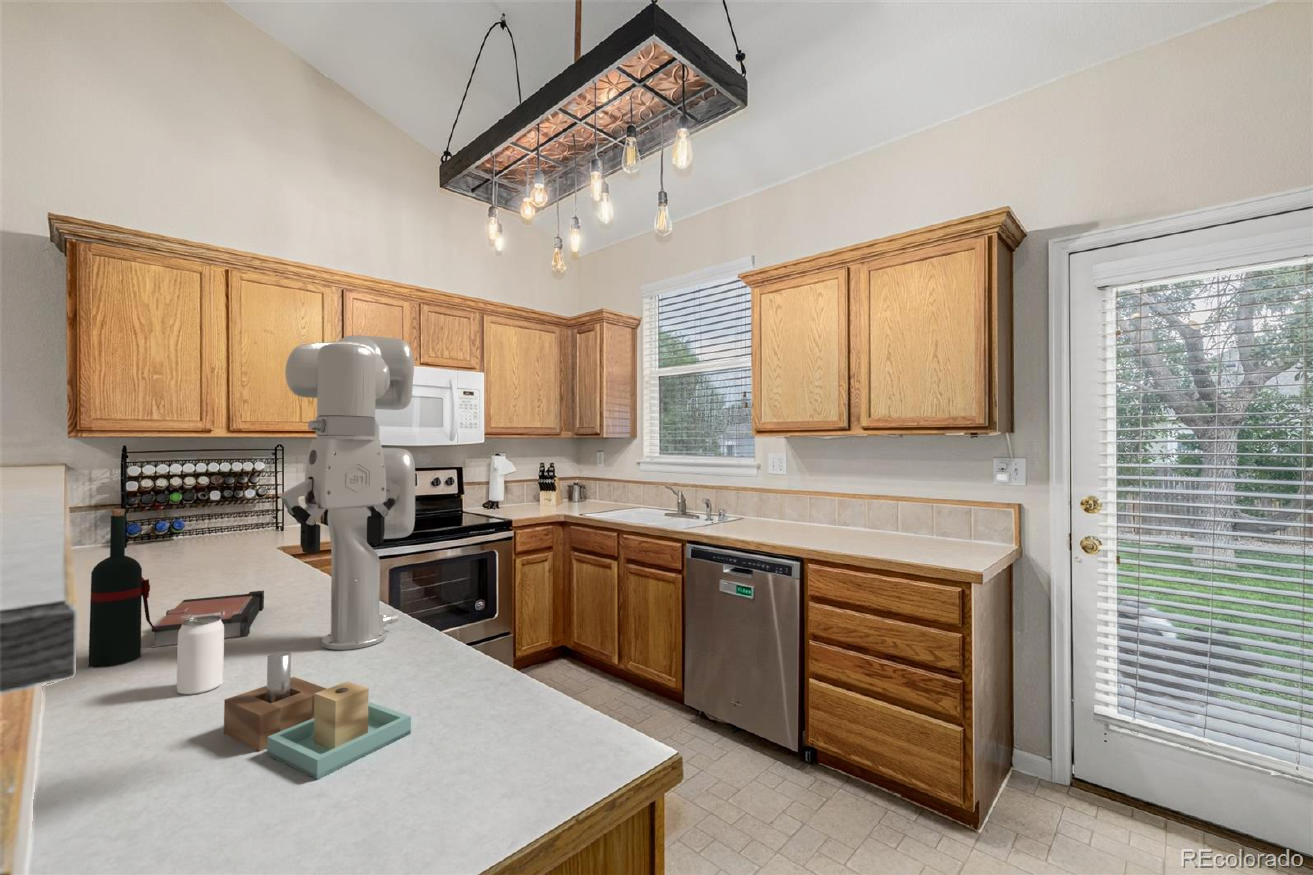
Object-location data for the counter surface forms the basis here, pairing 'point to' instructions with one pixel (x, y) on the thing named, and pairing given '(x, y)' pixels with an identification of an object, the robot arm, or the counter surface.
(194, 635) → the can
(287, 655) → the cylinder
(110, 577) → the wine bottle
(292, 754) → the tray
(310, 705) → the bore block
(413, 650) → the counter surface
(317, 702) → the oak block
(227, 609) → the book
